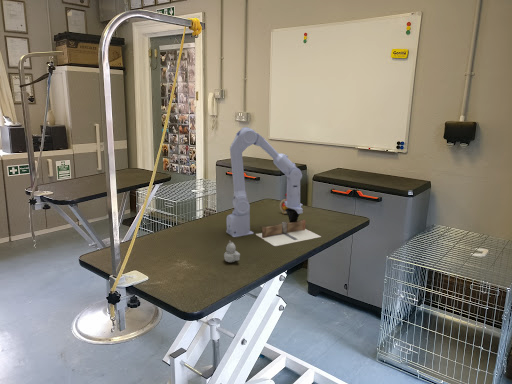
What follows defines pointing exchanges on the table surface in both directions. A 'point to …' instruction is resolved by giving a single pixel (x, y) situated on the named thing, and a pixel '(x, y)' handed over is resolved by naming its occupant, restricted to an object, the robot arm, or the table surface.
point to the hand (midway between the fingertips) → (293, 225)
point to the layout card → (289, 237)
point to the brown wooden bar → (296, 226)
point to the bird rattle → (283, 205)
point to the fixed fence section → (274, 230)
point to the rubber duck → (231, 253)
